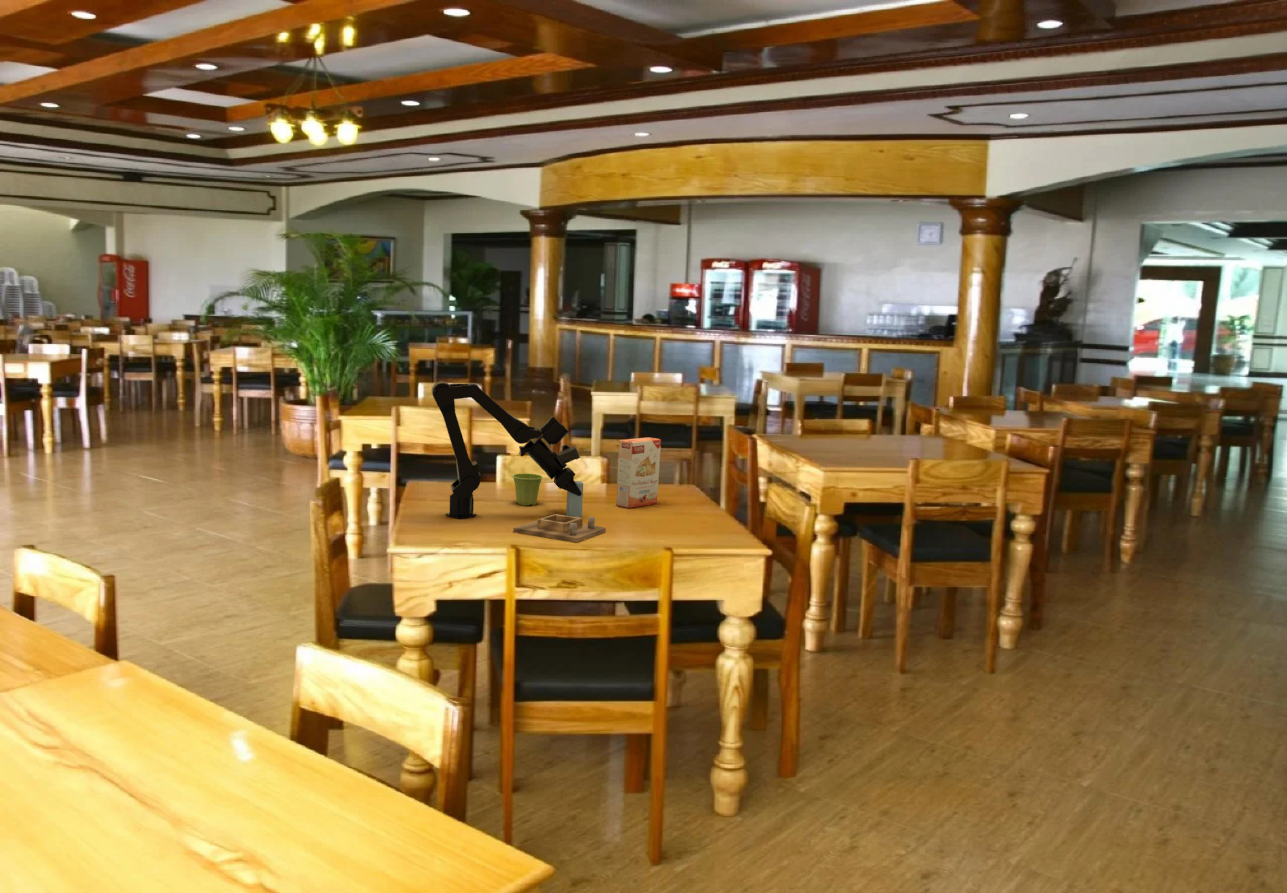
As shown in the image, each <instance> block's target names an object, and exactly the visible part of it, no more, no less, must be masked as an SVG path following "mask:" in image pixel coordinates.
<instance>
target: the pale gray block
mask: <svg viewBox="0 0 1287 893" xmlns="http://www.w3.org/2000/svg"><path fill="white" fill-rule="evenodd" d="M574 481H575V483H576V485H577V486H578V488H579V490H580V491H581V493H582V495H581V496H578V495H575V494H573V493H571V492H568V491H566V509H565V510H566V512H565V514H566V515H565V516H571V517H577V518H583V502H584V501H583V499H584V498H583V497H584V483H583V482H582V481H581V480H574Z"/></svg>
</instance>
